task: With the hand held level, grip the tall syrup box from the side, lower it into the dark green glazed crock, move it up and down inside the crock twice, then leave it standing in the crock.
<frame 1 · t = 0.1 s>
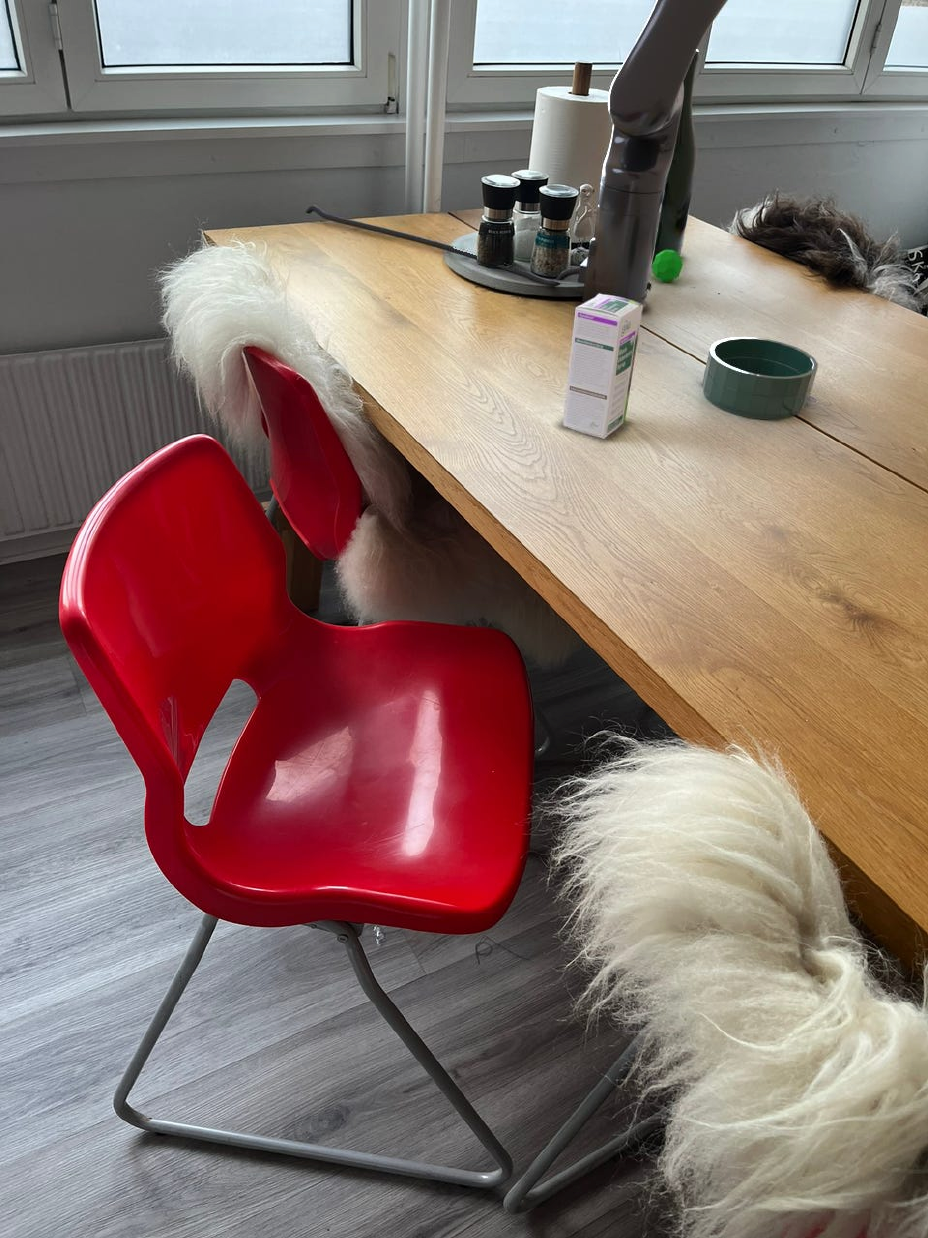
syrup box: (592, 426, 112), on the table
polyhedron: (664, 281, 157), on the table
crock: (752, 397, 121), on the table
beer bottle: (650, 254, 169), on the table
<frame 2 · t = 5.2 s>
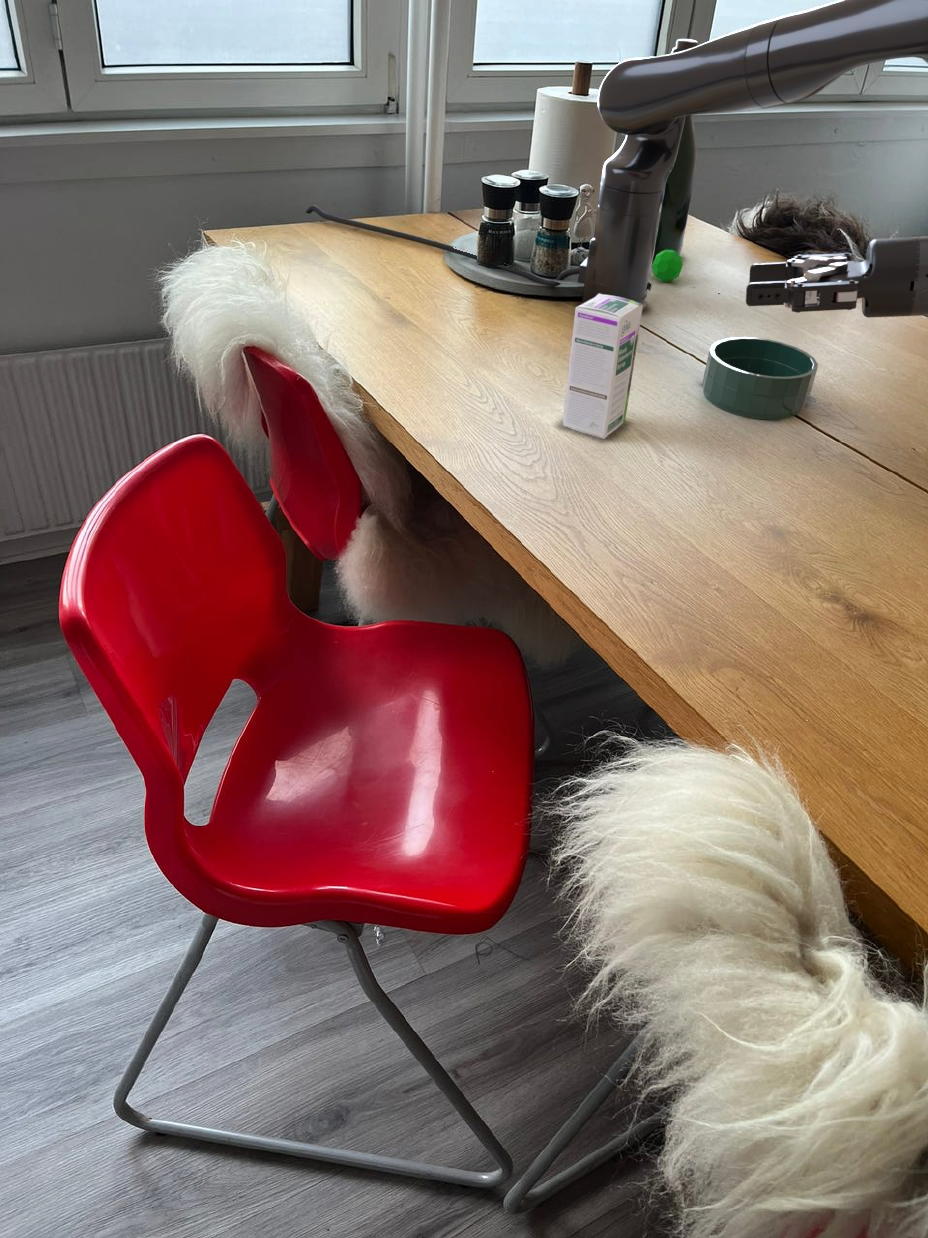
hand: (748, 284, 99), 18 cm above the table, tool horizontal, fingers open, 8 cm apart
nothing on the table moved.
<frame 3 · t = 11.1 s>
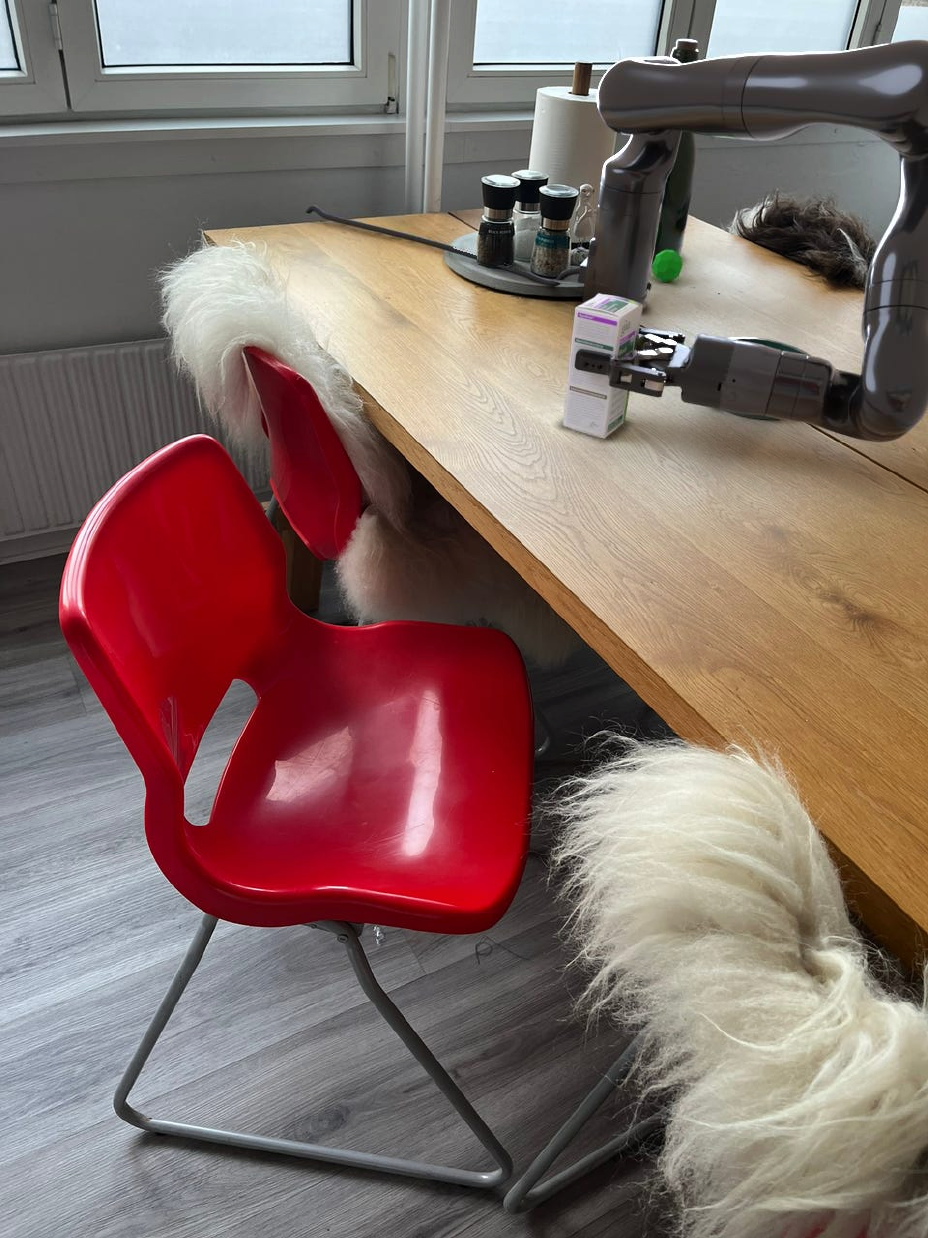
hand: (584, 347, 107), 9 cm above the table, tool horizontal, fingers closed on syrup box, 6 cm apart
syrup box: (592, 426, 112), on the table, touching gripper
everything else where it was.
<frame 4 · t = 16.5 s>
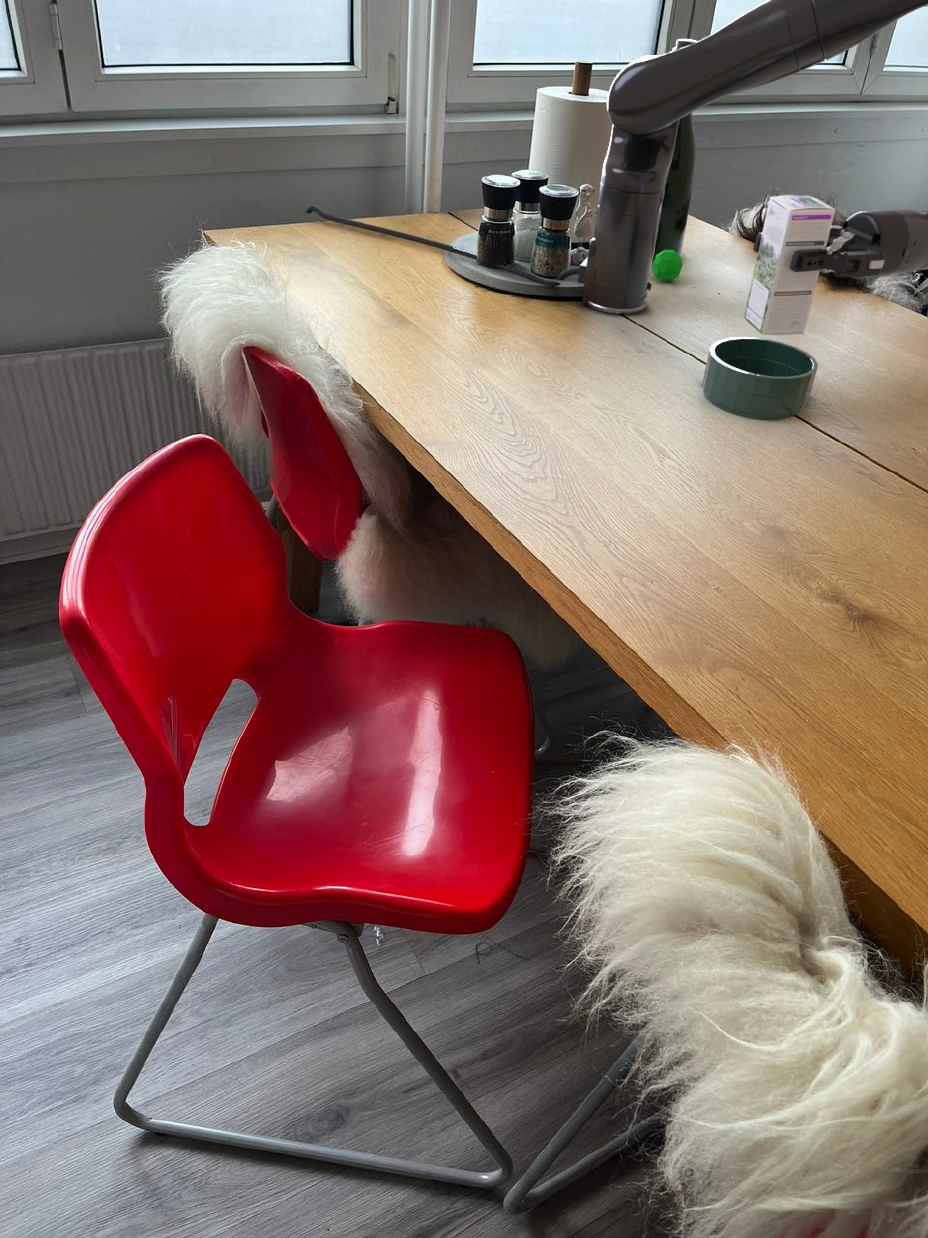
hand: (774, 252, 109), 18 cm above the table, tool horizontal, fingers closed on syrup box, 6 cm apart
syrup box: (772, 328, 115), point 9 cm above the table, touching gripper
everything else where it was.
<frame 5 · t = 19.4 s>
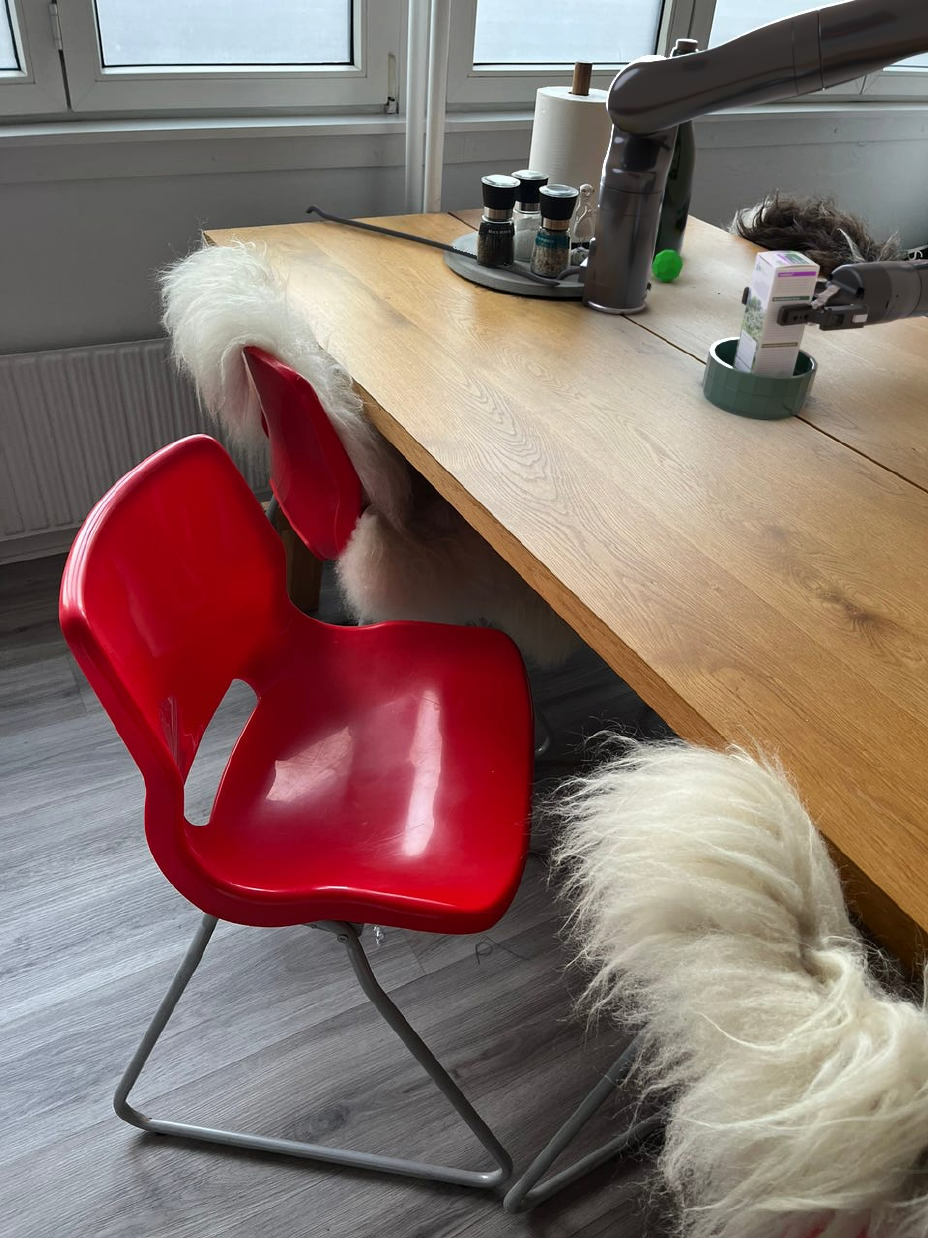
hand: (762, 306, 113), 12 cm above the table, tool horizontal, fingers closed on syrup box, 6 cm apart
syrup box: (760, 376, 119), point 3 cm above the table, touching gripper
everything else where it was.
when the fingers open (10 cm above the table, at t = 22.3 s): syrup box stays where it is, resting on crock.
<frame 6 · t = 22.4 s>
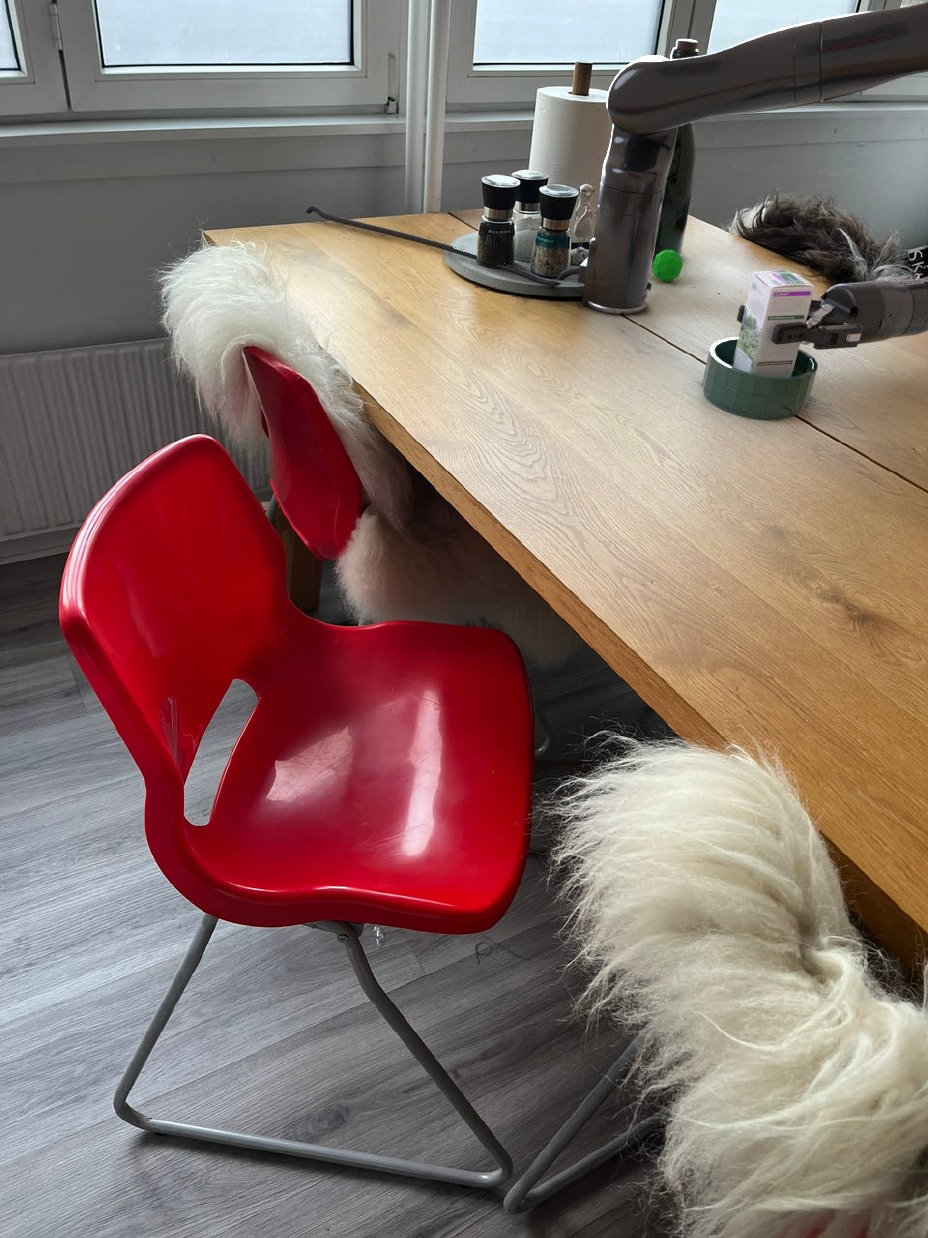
hand: (757, 324, 114), 10 cm above the table, tool horizontal, fingers open, 6 cm apart
syrup box: (755, 393, 121), point 1 cm above the table, touching crock
everything else where it was.
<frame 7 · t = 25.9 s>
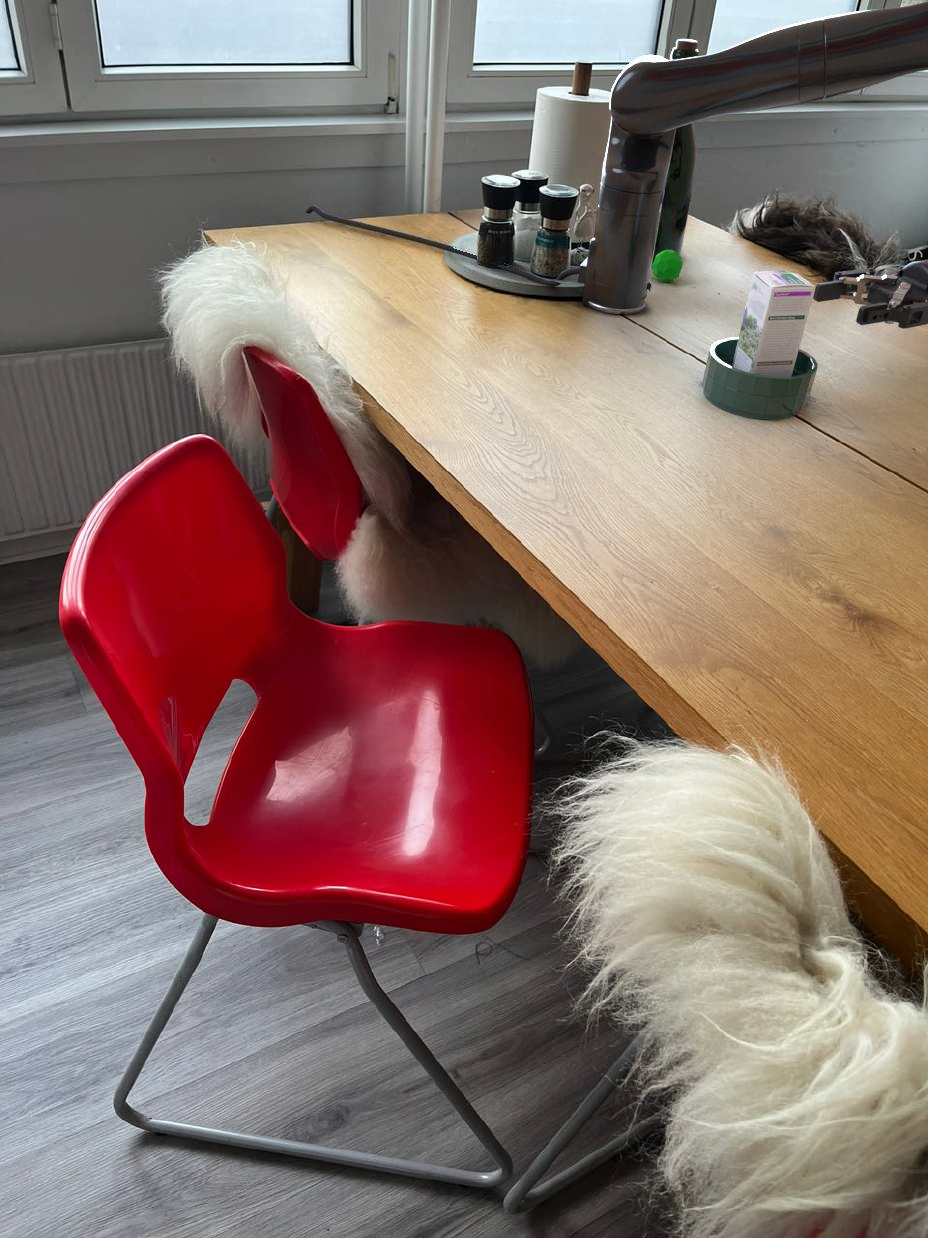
hand: (837, 304, 118), 11 cm above the table, tool horizontal, fingers open, 8 cm apart
nothing on the table moved.
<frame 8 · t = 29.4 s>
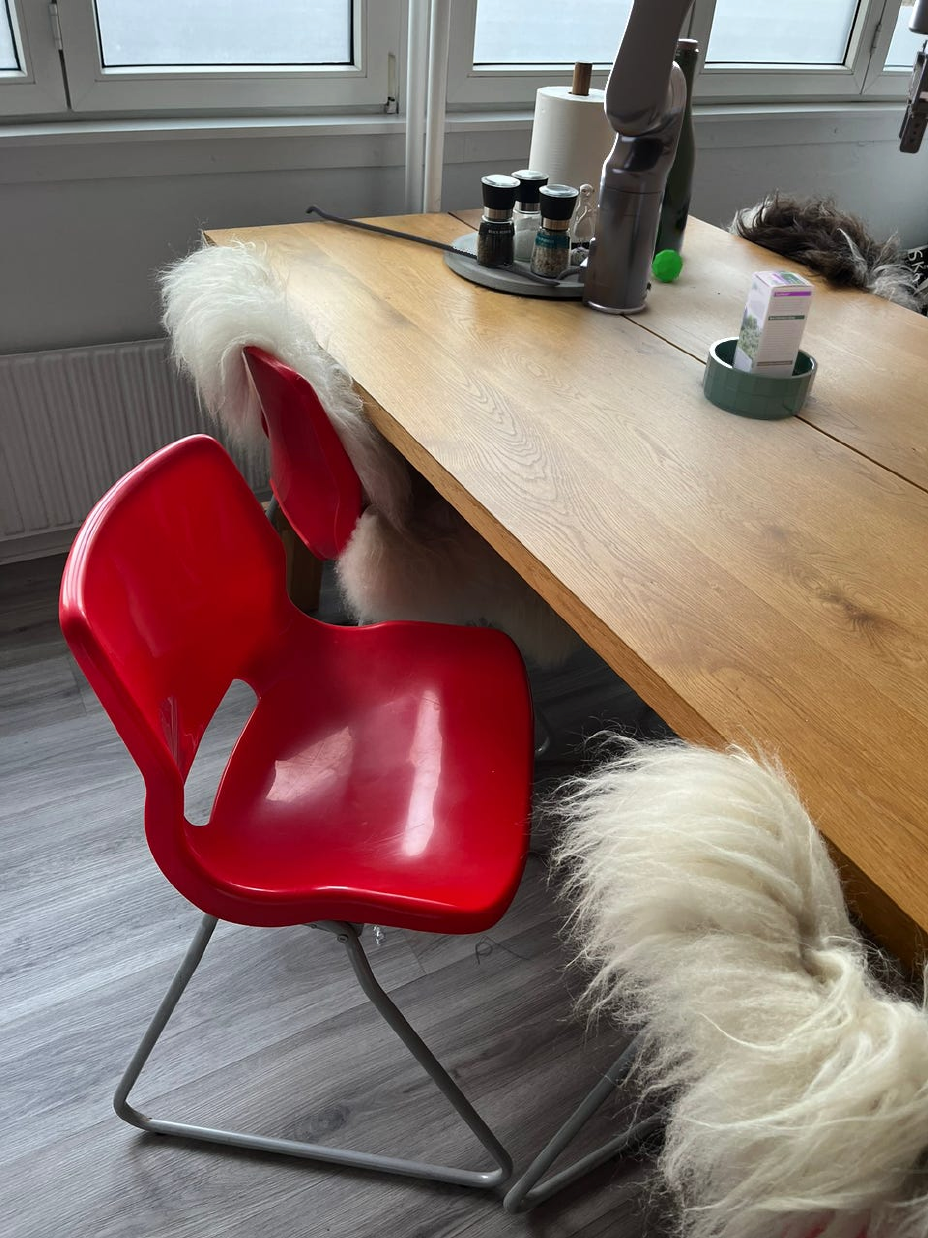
hand: (907, 145, 114), 28 cm above the table, tool pointing down, fingers open, 8 cm apart
nothing on the table moved.
at the end: syrup box 0.2 cm off-centre in the crock, point 0.6 cm above the crock's base; syrup box tilted 0°; the gripper is holding nothing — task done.
